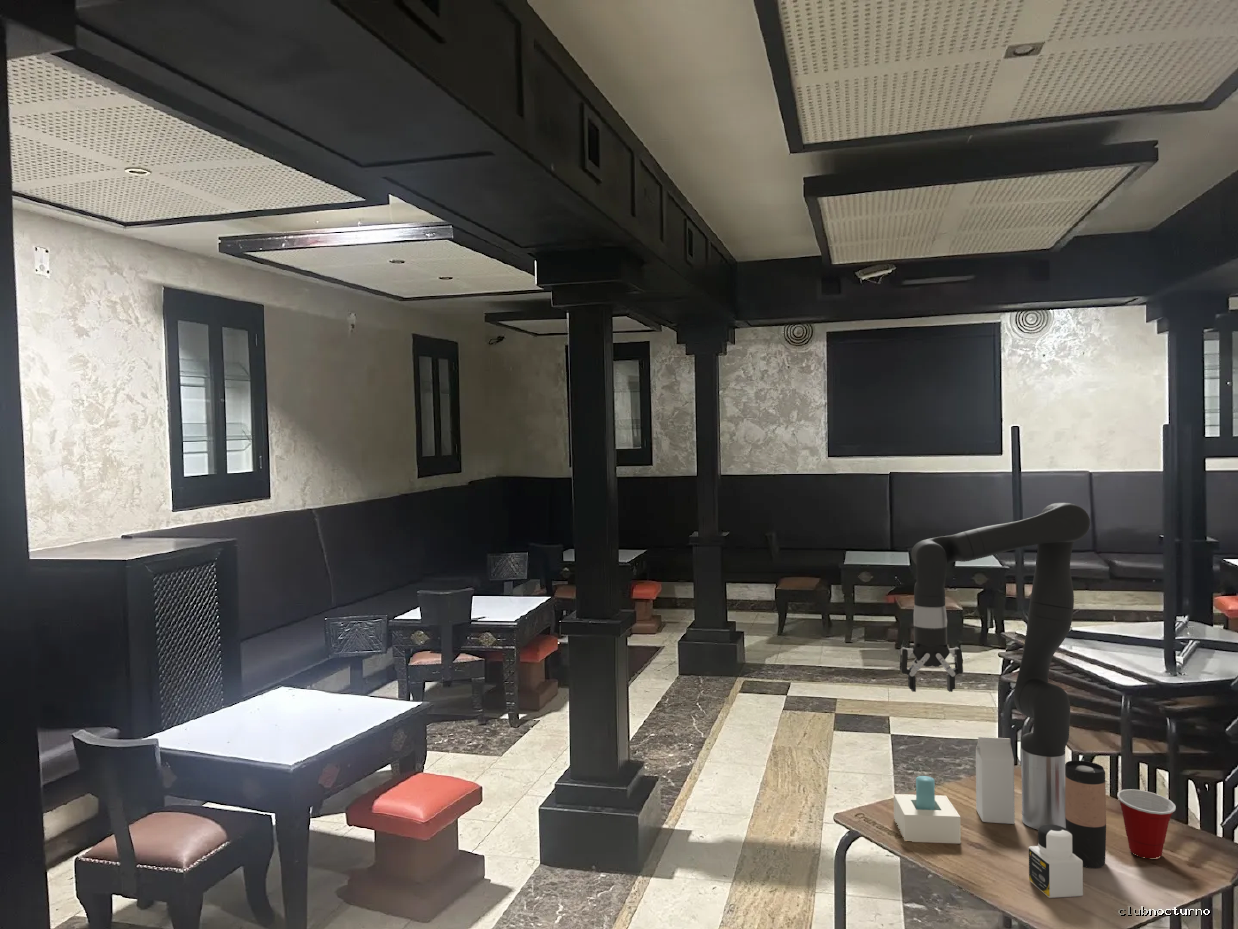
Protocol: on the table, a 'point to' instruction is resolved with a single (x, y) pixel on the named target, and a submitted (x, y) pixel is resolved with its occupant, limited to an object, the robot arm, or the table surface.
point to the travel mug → (1086, 811)
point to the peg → (925, 793)
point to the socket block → (927, 820)
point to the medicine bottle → (1055, 863)
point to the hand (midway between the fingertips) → (931, 691)
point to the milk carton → (995, 780)
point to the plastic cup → (1145, 821)
